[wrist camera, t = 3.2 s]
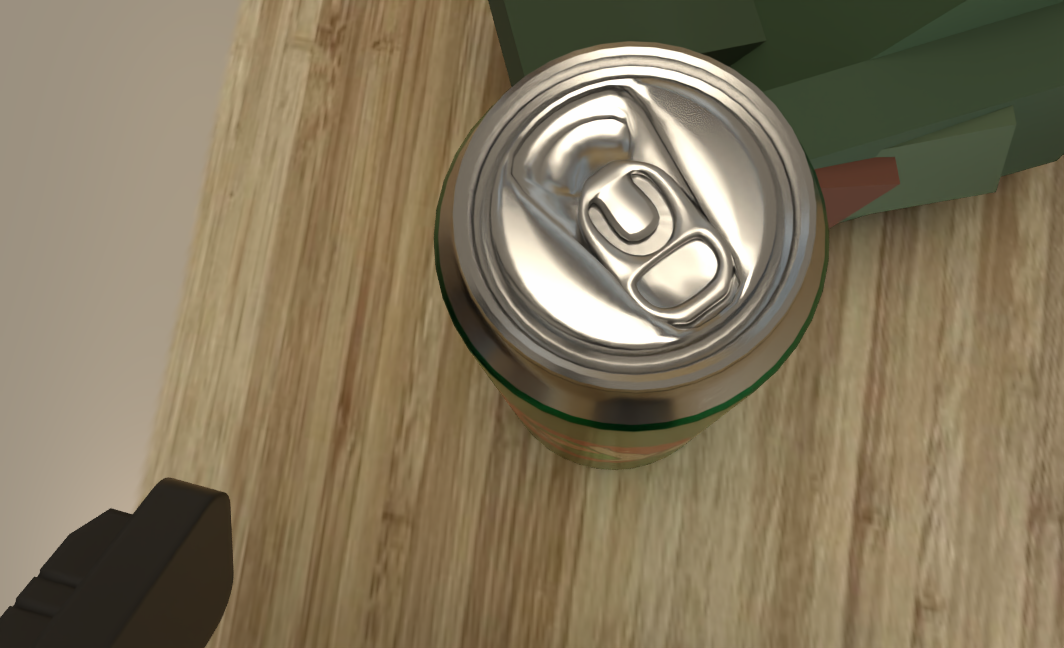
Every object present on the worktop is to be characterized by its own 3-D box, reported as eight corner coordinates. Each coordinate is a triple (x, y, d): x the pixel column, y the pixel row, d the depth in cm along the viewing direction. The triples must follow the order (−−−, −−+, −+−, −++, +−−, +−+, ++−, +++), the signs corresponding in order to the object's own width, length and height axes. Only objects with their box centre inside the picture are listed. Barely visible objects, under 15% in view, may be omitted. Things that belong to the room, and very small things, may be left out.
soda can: (632, 215, 24) (671, -67, 13) (766, 383, 23) (943, 249, 12) (461, 340, 24) (336, 170, 12) (590, 515, 23) (589, 515, 11)
